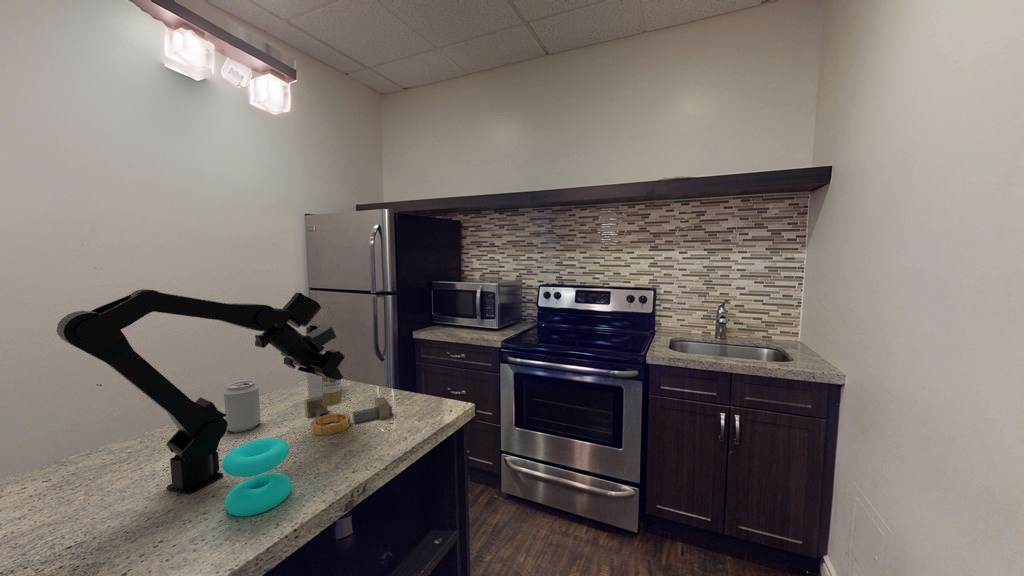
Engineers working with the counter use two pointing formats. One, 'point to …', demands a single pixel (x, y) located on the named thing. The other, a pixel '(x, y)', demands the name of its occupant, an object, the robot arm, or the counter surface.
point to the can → (242, 406)
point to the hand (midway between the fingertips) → (336, 377)
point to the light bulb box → (314, 385)
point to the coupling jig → (342, 415)
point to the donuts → (261, 488)
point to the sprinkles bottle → (331, 390)
